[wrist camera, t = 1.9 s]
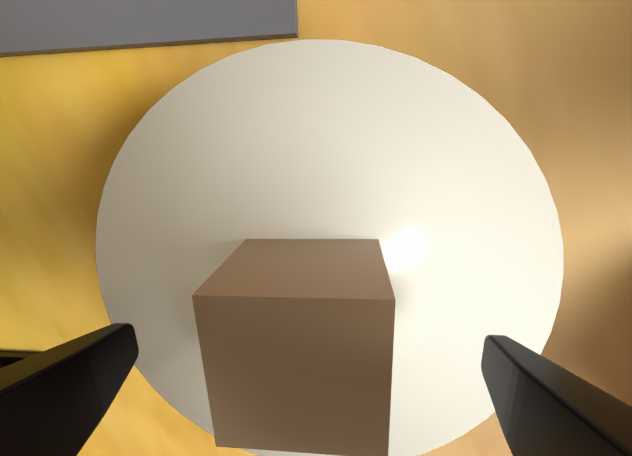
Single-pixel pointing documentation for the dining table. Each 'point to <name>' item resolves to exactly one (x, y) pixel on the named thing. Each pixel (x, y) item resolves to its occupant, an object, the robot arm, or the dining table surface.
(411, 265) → the lid
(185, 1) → the mat
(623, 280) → the dining table surface
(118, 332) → the robot arm
